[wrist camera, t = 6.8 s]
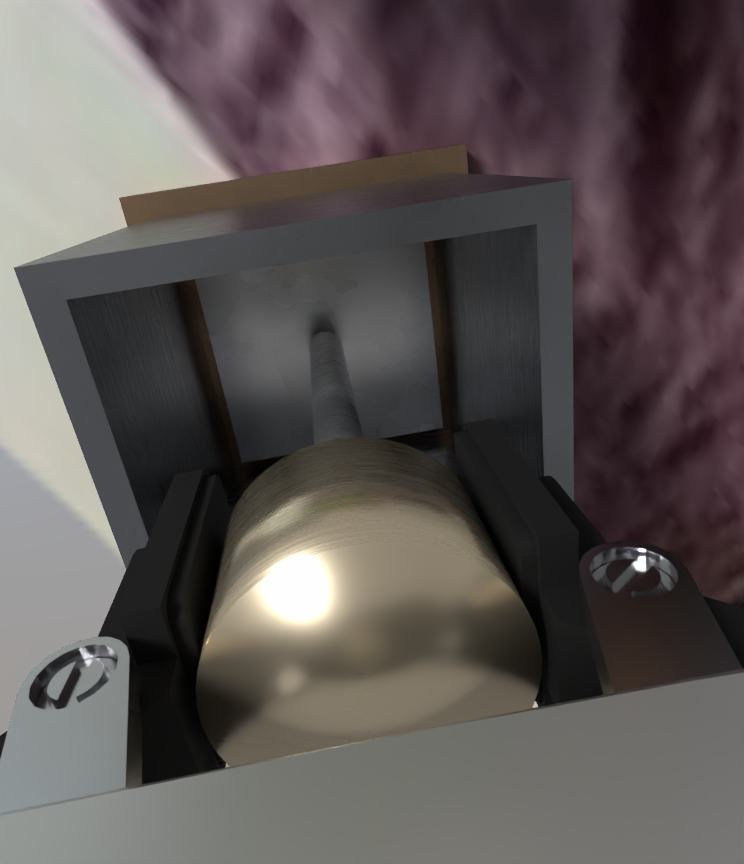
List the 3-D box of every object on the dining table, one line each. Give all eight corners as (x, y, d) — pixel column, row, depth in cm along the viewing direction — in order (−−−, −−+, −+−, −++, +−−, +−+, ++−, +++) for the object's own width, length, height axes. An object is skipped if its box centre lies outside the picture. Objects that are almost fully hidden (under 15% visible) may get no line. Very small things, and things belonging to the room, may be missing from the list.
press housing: (459, 144, 22) (614, 125, 11) (481, 442, 27) (604, 630, 16) (126, 196, 22) (-50, 228, 11) (210, 490, 27) (148, 717, 16)
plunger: (417, 214, 22) (701, 334, 6) (439, 419, 25) (661, 830, 10) (191, 250, 21) (-85, 468, 6) (243, 453, 25) (149, 934, 9)
